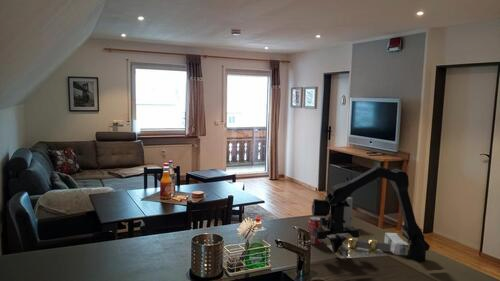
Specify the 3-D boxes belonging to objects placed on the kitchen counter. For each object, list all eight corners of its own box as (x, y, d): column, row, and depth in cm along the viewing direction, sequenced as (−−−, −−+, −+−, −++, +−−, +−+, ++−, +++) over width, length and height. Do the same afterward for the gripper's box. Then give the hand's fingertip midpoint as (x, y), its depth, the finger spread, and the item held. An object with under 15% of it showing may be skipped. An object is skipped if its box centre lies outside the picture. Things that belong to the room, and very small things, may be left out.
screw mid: (347, 247, 163) (347, 239, 162) (348, 244, 166) (349, 236, 166) (368, 251, 159) (369, 243, 158) (369, 248, 162) (370, 240, 162)
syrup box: (395, 244, 171) (408, 257, 157) (383, 244, 171) (394, 256, 157) (396, 232, 171) (409, 244, 156) (384, 232, 171) (395, 244, 156)
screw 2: (367, 249, 161) (367, 240, 161) (368, 245, 165) (368, 237, 165) (389, 252, 158) (390, 244, 157) (389, 249, 162) (390, 241, 161)
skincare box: (340, 229, 190) (342, 199, 188) (330, 225, 196) (332, 196, 194) (352, 227, 194) (354, 197, 192) (342, 223, 200) (344, 194, 198)
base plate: (388, 257, 156) (388, 254, 156) (340, 260, 151) (340, 257, 151) (370, 245, 169) (370, 242, 169) (326, 247, 165) (326, 244, 165)
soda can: (321, 240, 172) (322, 216, 171) (322, 246, 165) (324, 220, 164) (306, 239, 173) (307, 215, 172) (306, 245, 166) (308, 219, 165)
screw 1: (332, 248, 160) (333, 240, 160) (341, 248, 161) (341, 239, 161) (342, 257, 151) (342, 248, 151) (351, 256, 152) (351, 248, 152)
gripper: (348, 209, 161) (346, 244, 163) (308, 211, 157) (306, 246, 159) (361, 217, 150) (358, 254, 152) (318, 219, 146) (316, 256, 148)
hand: (334, 252), depth 153 cm, fingers closed
